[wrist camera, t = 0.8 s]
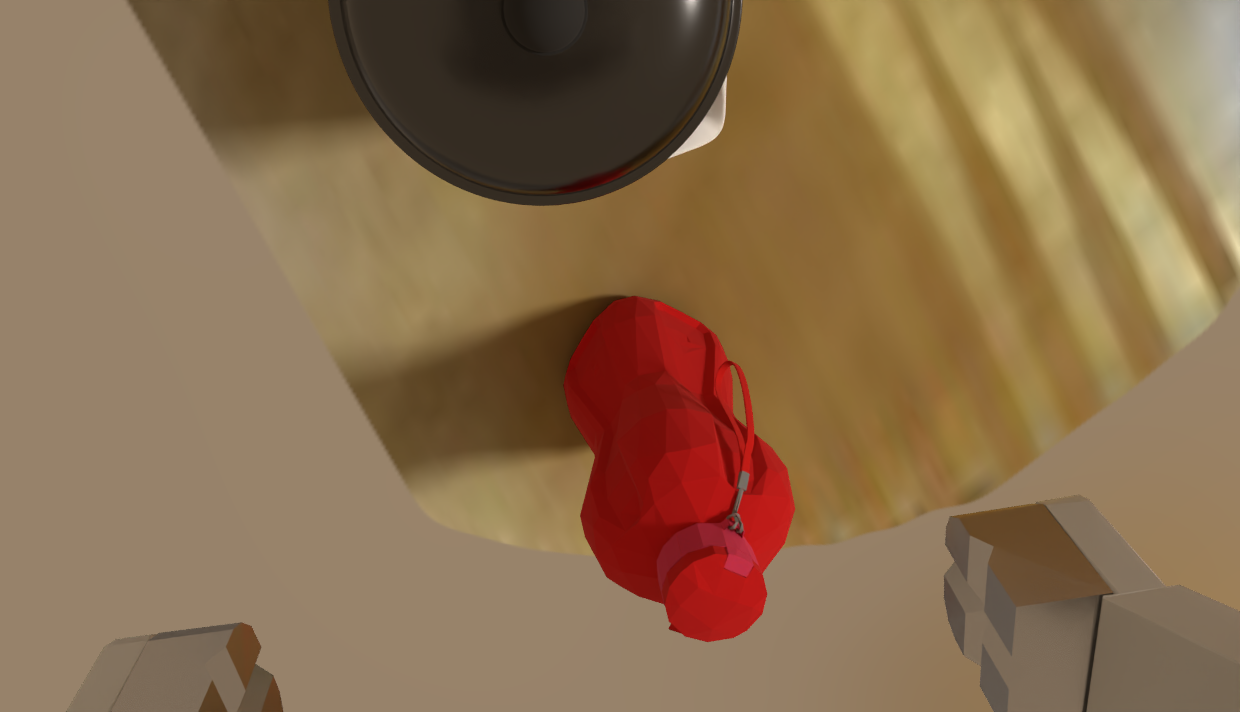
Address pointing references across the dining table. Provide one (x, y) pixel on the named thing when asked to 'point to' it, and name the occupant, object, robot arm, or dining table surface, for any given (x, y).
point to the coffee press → (540, 87)
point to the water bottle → (675, 469)
